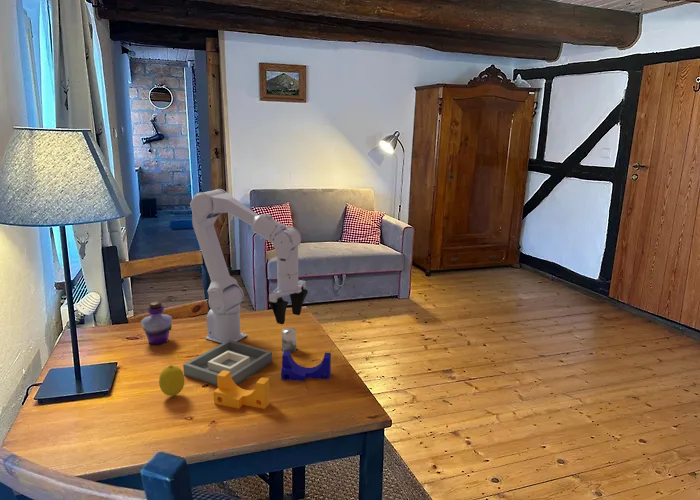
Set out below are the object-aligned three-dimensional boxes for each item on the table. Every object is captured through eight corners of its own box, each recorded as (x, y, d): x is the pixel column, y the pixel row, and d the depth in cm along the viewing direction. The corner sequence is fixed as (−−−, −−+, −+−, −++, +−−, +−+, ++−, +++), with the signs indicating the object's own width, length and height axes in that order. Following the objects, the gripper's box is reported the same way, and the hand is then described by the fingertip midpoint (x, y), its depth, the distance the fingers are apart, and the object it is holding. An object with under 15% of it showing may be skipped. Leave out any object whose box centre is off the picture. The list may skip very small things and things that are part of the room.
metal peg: (279, 350, 141) (278, 331, 140) (287, 345, 145) (287, 326, 143) (290, 354, 139) (290, 334, 138) (299, 348, 143) (298, 329, 141)
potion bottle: (180, 338, 148) (177, 300, 145) (158, 350, 141) (155, 310, 138) (158, 333, 152) (154, 296, 148) (136, 344, 144) (132, 305, 141)
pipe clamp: (214, 404, 115) (212, 378, 113) (224, 394, 119) (223, 370, 117) (261, 413, 111) (260, 387, 110) (269, 403, 115) (269, 378, 114)
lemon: (162, 405, 114) (159, 373, 112) (159, 393, 118) (156, 362, 116) (187, 399, 116) (185, 368, 114) (183, 388, 121) (181, 358, 119)
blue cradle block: (281, 380, 126) (280, 358, 124) (285, 371, 130) (284, 350, 128) (328, 382, 125) (328, 361, 123) (330, 374, 129) (330, 352, 128)
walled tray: (184, 375, 127) (183, 364, 126) (229, 349, 142) (229, 339, 141) (228, 390, 120) (228, 379, 119) (272, 362, 135) (272, 351, 134)
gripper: (283, 281, 128) (284, 330, 132) (314, 268, 141) (314, 313, 144) (262, 277, 131) (263, 325, 135) (294, 264, 144) (294, 308, 147)
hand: (288, 318), depth 140 cm, fingers open, 7 cm apart
